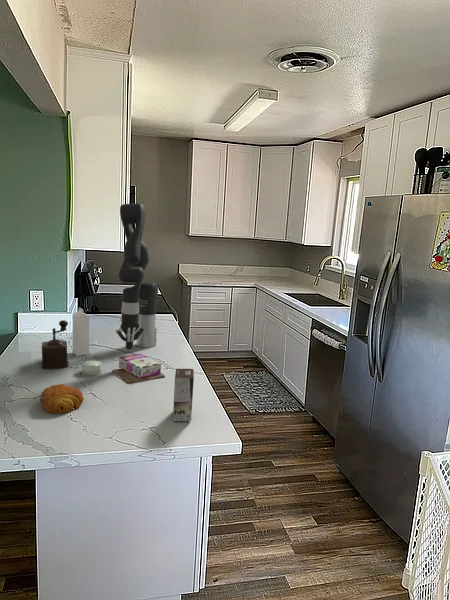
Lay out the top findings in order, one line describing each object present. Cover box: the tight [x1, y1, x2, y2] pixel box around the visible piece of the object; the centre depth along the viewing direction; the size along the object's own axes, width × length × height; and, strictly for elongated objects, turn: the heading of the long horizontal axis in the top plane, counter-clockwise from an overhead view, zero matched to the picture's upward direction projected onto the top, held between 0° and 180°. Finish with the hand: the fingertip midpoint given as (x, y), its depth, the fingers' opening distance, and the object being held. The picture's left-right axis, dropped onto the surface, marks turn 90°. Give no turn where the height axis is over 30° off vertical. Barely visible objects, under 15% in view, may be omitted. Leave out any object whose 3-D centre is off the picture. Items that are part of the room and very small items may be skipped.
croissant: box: [39, 383, 85, 415], centre depth 158 cm, size 14×16×8 cm
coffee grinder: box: [41, 320, 69, 370], centre depth 198 cm, size 16×11×18 cm
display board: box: [112, 368, 166, 385], centre depth 193 cm, size 17×16×1 cm
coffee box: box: [172, 368, 195, 422], centre depth 155 cm, size 9×6×16 cm
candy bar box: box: [118, 352, 162, 378], centre depth 195 cm, size 11×5×16 cm
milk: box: [72, 307, 90, 357], centre depth 212 cm, size 6×6×22 cm
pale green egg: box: [81, 360, 102, 377], centre depth 191 cm, size 8×8×4 cm
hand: (129, 349), depth 200 cm, fingers closed
